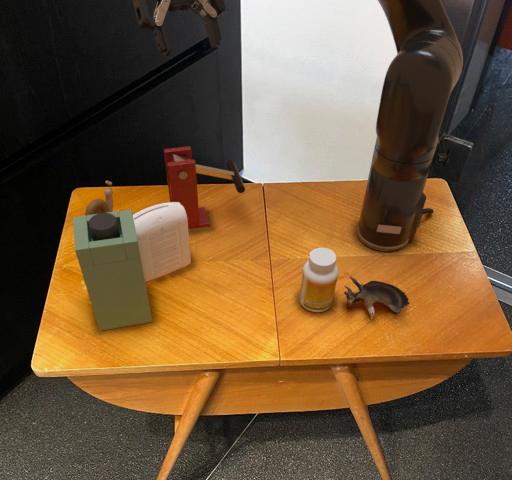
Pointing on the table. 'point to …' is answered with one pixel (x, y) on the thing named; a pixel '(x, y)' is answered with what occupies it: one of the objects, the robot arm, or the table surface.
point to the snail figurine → (101, 203)
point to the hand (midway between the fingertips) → (192, 50)
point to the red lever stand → (185, 186)
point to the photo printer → (162, 239)
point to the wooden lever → (217, 172)
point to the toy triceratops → (377, 295)
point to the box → (113, 273)
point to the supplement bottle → (319, 280)
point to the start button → (104, 227)
